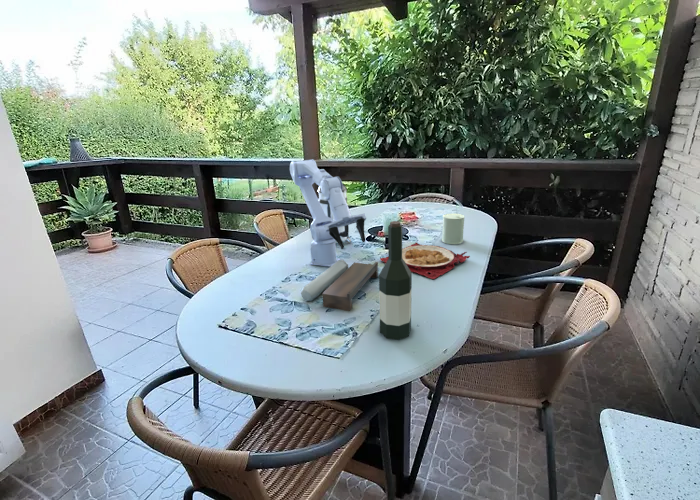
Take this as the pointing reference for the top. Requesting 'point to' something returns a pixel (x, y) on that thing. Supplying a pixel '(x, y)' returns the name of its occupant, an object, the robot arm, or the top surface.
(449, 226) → the can
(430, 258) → the plate with food
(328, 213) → the coffee press
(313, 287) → the tube
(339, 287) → the wooden display stand
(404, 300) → the wine bottle
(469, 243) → the top surface
